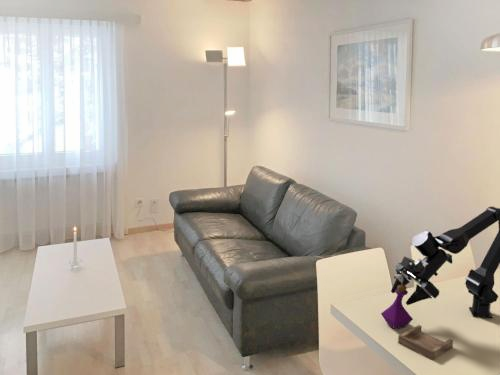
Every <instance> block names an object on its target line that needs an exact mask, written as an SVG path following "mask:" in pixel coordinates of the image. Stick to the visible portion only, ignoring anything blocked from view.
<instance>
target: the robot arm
mask: <svg viewBox="0 0 500 375" xmlns="http://www.w3.org/2000/svg"><path fill="white" fill-rule="evenodd" d="M495 223H497V224H498V231H497V233H496V236H495V237H494V238H493V241H492V243H491V245H490V247H489V249H488V251H487V252H486V254H485V257H484V259H483V260H482V262H481V264H480V265H479V267H477V268H476V269H473V268H471V269H470V270H469V272H468V275H467V276H466V277H465V282H464V284H465V288H466V289H467V291H468V293H469V294H471V295H473V297H472V303H471V304H472V305H471V306H469V307H468V309H469V311H470V313H471V316H472V317H477V318H489V319H492V318H494V317H493V314H492V312H491V305H492V304H493V303H495V302H497V300H498V298H499V294H498V293H496V291H494V290H493V289H494V286H495V273H496V272H497V270H498V267H499V266H500V207H495V206H489V207H487V208H486V209H485V210H484V211H483V212H481V213H479V214H478V215H477V216H475V217H474V218H472V219H471V220H469V221H468V222H466V223H465V224H464V225H462V226H460V227H458V228H452V229H449V230H447V231H445V232H443V233H441V234H440V235H436V236H433V233H432V232H431V231H429V230H428V229H426V230H425V231H422V232H419V233H417V234H415V235H414V236H413V238H412V239H411V245H413V247H415V249H416V250H417V251H418V252H419V253H420V254H421V255H422V257H423V259H422V258H418V259H416V260H414V259H412V258H410V257H407V256H403V258H402V260H401V262H398V263H397V264H396V265H395V266H394V267H395V272H396V275H397V274H402V275H403V278H404V280H403V282H402V283H401V282H400V281H399V280H398V279H397V277H396V279H395V281H394V283H393V285H392V288H391V291H390V292H391V293H392V294H394V293H395V294H396V292H395V290H396V289H398V288H397V286H398V285H404V286H407V285H408V284H409V283H411V282H410V281H412V280H413V281H414V282H416V285H415V290H414V291H413V293H412V294H411V295H410V296H409V297H408V298H407V299H406V301H405V304H406V305H407V306H409V305H412V304H415V303H418V302H420V301H424V300H428V299H430V300H432V299H433V298H434V299H437V298H438V296H440V289H438V288H437V287H436V285H435V284H434V283H432V282H431V281H430V279H431V278H432V277H433V276H435V277H437V276H438V275H439V273H438V271H439V270H440V269H441V267H442V266H443V265H445V263H446V262H447V263H449V264H451V265H452V264H453V255H457V254H459V253H461V252H462V251H463V250H464V249H465V248H466V247H468V245H469V242H470V240H472V238H474V237H475V236H477V235H479V234H480V233H481V232H483V231H485V230H487V229H488V228H490V227H491V226H492V225H493V224H495ZM447 252H449V253H447ZM450 253H451V254H450ZM452 254H453V255H452Z"/></svg>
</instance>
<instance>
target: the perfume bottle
mask: <svg viewBox="0 0 500 375" xmlns="http://www.w3.org/2000/svg"><path fill="white" fill-rule="evenodd" d="M396 278H397V279H398V280H399V281H400V282H401V283H402V282H403V280H404V278H403V275H402V274H397V273H396V274H394V275H393V279H395V280H396ZM397 288H398V289H396V290H395V294H396V298H395V299H394V301H393V302H392V304H391V305H390V306H389V307H387V308H386V309H385V310H384V311H382V312H381V313H380V315H381V317H382V318H383V319H384V320H385V322H386V323H387V325H389V326H390V327H391V328H393V329H395V330H398V329H401V328H402V329H403V328H405V327H407V326H408V325H409V324H410V323H411V322H412V321H413V319H414V318H413V317H412V316H411V315H410V313H409V312H408V311H407V309H405V306H404V305H403V298H404V297H405V296H406V295H408V293H409V292H408V290H407V285H405V286H404V285H398V286H397Z"/></svg>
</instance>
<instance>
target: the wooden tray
mask: <svg viewBox="0 0 500 375" xmlns="http://www.w3.org/2000/svg"><path fill="white" fill-rule="evenodd" d="M397 337H398V339H397V340H398V341H397V344H399V345H401V346H403V347H405V348H406V349H410V350H411V351H413V352H416V353H418V354H420V355H422V356H424V357H426V358H428V359H429V360H432V361H433V360H435V359H436V358H438V357H439V356H441V355H442V354H444V353H446V352H448V351H449V350H451V349H452V348H453V347H454V346H453V345H454V339H452V338H449V339H447V340H446V341H443V340H441V339H439V338H438V337H437V338H436V337H435V336H433V335H430V334H429V333H425V332H424V331H422V325H420V324H418V325H417V326H415V327H412V328H411V329H409V330H407V331H405V332H403V333H401V334H400V335H398V336H397Z"/></svg>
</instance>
